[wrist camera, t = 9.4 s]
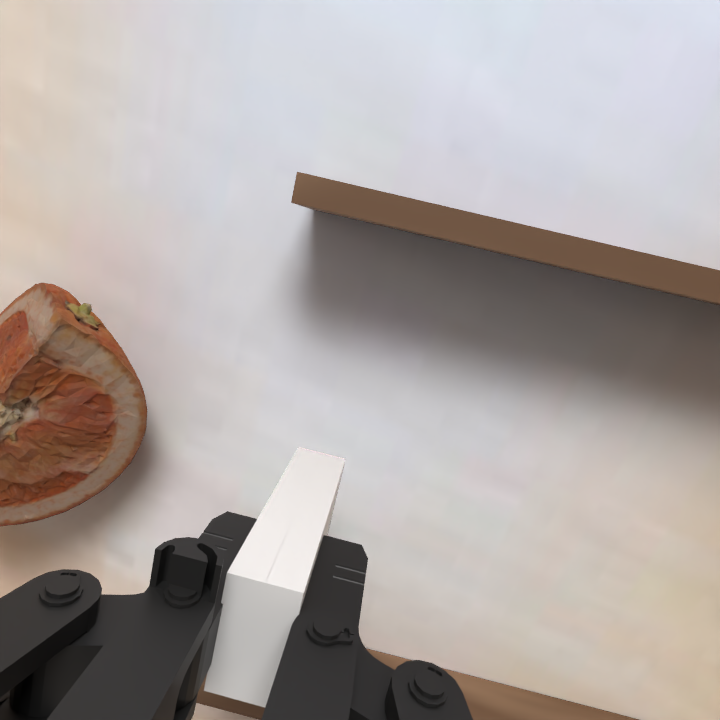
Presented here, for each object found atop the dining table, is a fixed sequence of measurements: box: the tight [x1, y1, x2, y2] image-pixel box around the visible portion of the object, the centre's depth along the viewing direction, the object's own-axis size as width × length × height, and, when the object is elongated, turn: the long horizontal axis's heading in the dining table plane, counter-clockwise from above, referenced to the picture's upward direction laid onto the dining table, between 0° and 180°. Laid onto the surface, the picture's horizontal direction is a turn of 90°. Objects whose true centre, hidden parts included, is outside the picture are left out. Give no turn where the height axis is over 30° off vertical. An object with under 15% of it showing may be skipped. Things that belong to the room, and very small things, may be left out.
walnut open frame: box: [196, 172, 720, 720], centre depth 18 cm, size 18×24×4 cm
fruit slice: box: [0, 283, 147, 526], centre depth 18 cm, size 8×7×5 cm
